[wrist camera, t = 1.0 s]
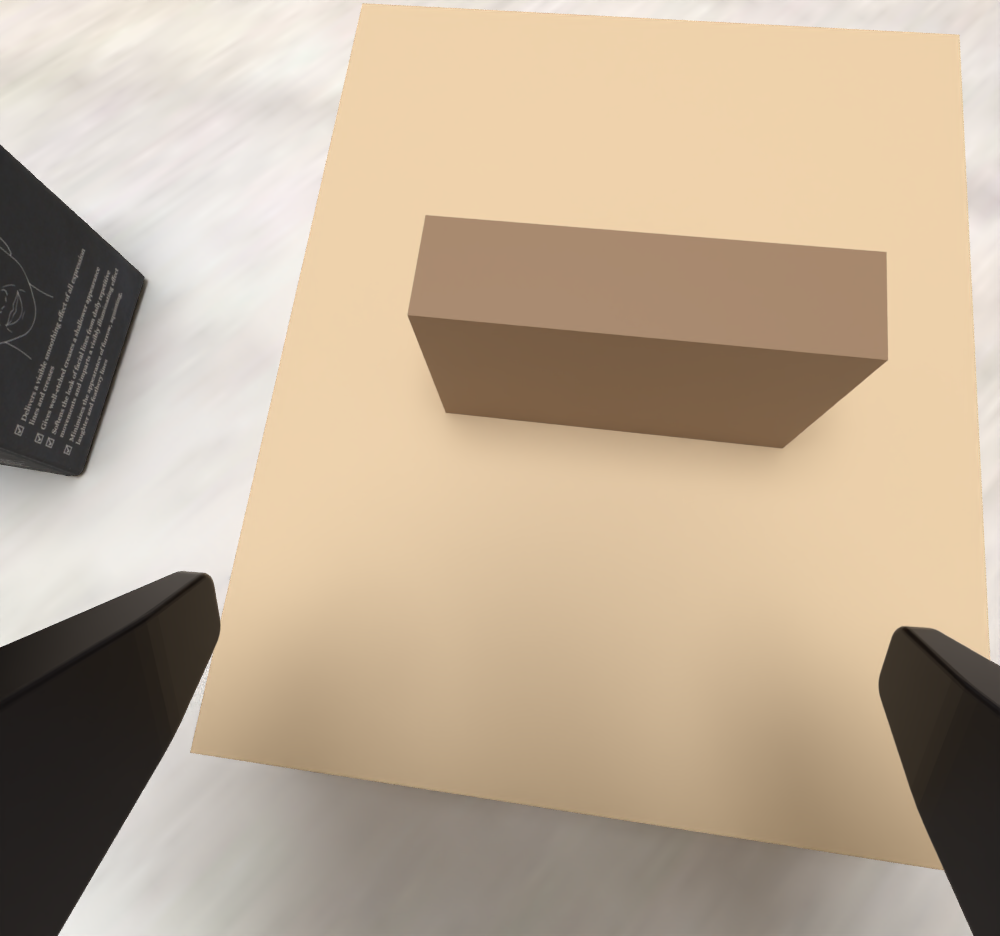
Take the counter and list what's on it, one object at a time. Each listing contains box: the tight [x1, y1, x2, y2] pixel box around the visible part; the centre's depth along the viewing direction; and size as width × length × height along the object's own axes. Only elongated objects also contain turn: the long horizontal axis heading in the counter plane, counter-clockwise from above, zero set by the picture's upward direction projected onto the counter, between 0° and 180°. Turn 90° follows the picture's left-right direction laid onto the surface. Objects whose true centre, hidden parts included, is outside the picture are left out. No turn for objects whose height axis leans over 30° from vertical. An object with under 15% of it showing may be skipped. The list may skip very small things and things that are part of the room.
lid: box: [190, 3, 990, 870], centre depth 15 cm, size 21×17×6 cm
